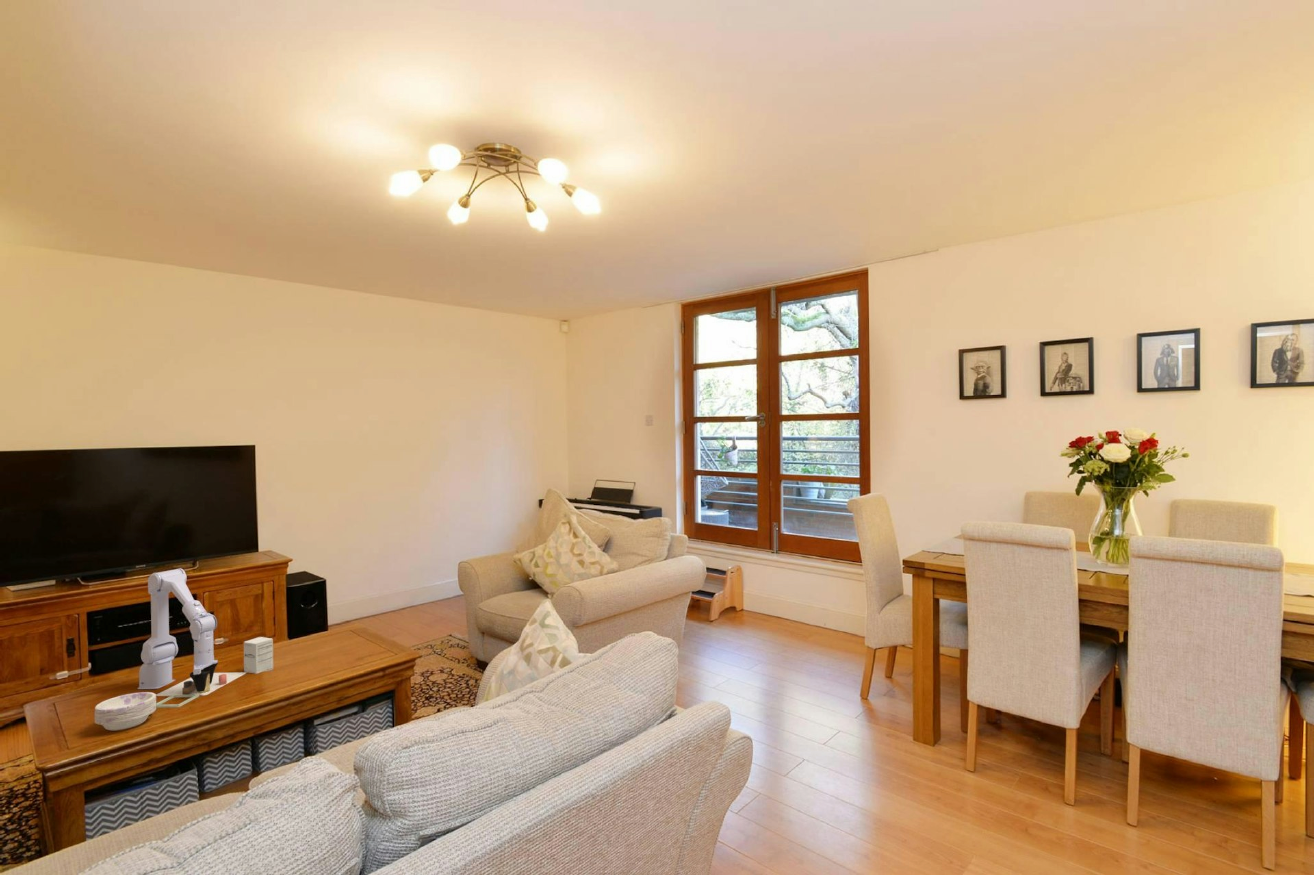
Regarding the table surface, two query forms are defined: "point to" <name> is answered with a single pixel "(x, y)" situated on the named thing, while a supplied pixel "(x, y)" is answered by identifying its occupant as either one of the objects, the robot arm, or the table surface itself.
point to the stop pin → (207, 685)
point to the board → (213, 686)
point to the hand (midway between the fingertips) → (204, 687)
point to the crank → (188, 687)
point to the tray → (176, 704)
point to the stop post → (222, 679)
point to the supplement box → (258, 655)
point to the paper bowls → (125, 710)
